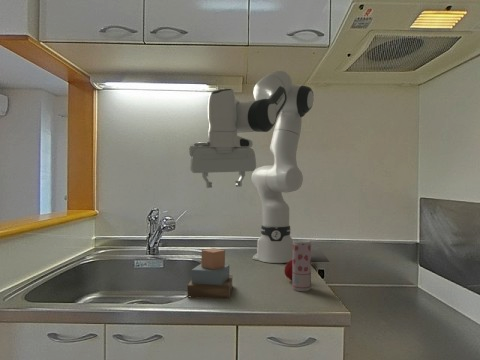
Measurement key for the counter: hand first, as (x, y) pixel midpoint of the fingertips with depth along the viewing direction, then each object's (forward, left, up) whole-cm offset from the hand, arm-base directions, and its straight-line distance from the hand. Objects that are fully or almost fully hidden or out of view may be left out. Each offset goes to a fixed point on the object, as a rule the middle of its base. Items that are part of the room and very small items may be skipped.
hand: (224, 187), depth 121 cm
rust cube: (+3, -3, -24) cm, 24 cm away
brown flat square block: (+3, -4, -32) cm, 32 cm away
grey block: (+3, -4, -28) cm, 28 cm away
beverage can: (-2, +24, -32) cm, 40 cm away
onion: (-10, +22, -32) cm, 40 cm away
